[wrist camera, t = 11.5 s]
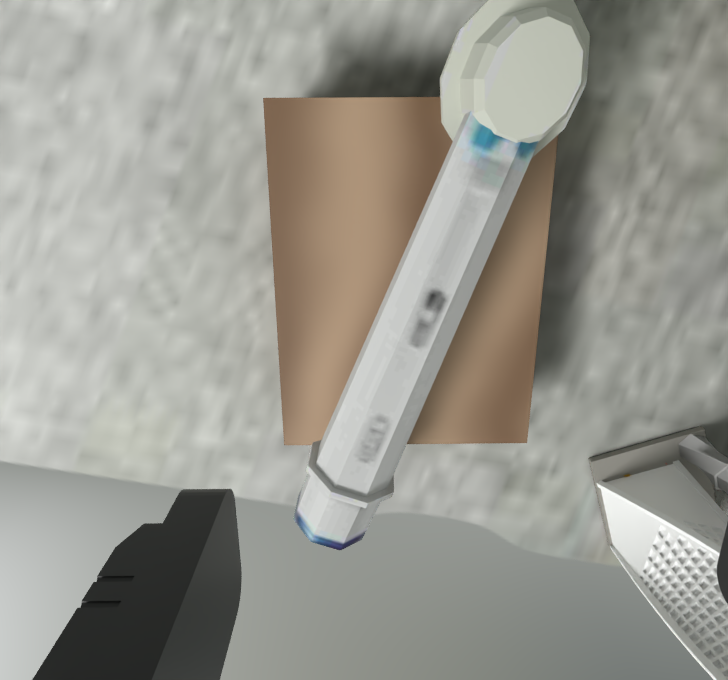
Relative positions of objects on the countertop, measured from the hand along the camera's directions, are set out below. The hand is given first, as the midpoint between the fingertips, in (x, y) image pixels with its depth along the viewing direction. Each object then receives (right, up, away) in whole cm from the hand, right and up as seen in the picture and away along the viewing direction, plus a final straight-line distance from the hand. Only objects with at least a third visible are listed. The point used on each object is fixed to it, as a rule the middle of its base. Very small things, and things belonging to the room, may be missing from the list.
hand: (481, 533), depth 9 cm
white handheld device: (+1, +6, +17) cm, 18 cm away
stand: (0, +7, +21) cm, 22 cm away
